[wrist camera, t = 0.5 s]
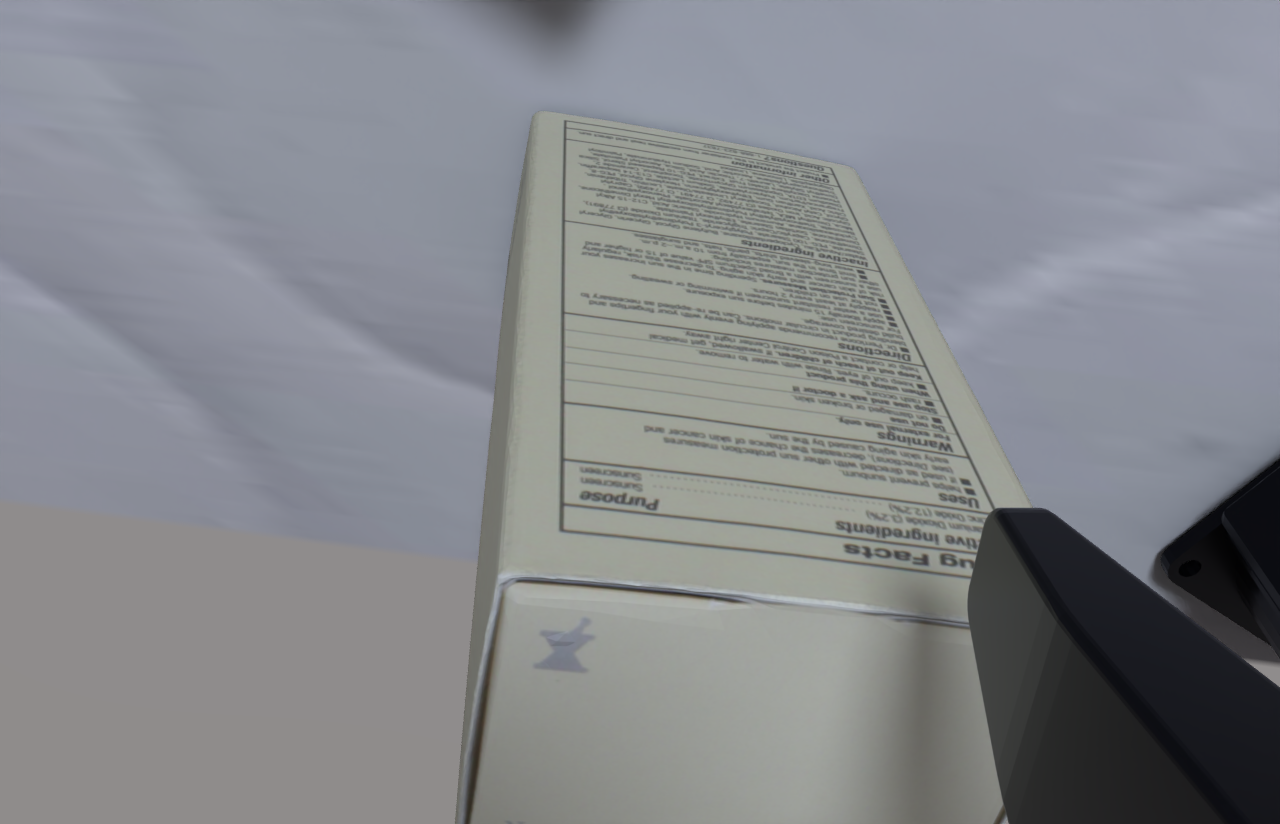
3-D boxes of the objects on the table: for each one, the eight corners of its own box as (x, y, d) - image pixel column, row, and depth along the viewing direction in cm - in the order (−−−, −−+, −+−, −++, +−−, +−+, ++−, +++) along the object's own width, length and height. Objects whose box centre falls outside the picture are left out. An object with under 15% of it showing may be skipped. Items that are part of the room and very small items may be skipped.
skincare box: (499, 310, 23) (423, 863, 13) (533, 91, 20) (471, 566, 10) (809, 359, 24) (963, 914, 14) (877, 156, 21) (1127, 651, 11)
